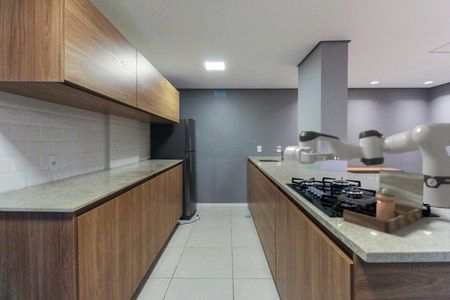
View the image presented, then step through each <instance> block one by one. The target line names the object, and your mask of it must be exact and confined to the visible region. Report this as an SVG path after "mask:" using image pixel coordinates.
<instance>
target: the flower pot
mask: <svg viewBox="0 0 450 300" xmlns="http://www.w3.org/2000/svg"><path fill="white" fill-rule="evenodd" d="M381 192H382V193H379V192H377V193H375V197H376V199H377V203H376V208H375V209H376V211H375V213H376V215H375V218H378V219H382V220H386V221H387V220H390V219H392V218H395V213H394V210H395V201H396V195H393V194H390V190H389V189H387V188H384V189H382V191H381Z"/></svg>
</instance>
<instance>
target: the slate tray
mask: <svg viewBox="0 0 450 300" xmlns="http://www.w3.org/2000/svg"><path fill="white" fill-rule="evenodd" d="M348 195H349V194H348V193H343V194H340V195H337V201H338V200H341V199H345V200H352V201H355V202H356V203H358V204H359V205H361V206H360V207H363V206H364V207H367V206H366V204H371V203H374V202H377V199H376V196H373V195H372V196H371V195H367V194H362V197H363V198H361V199H353V198H348V197H347V196H348ZM374 204H375V203H374ZM371 205H372V204H371Z"/></svg>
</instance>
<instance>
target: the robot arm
mask: <svg viewBox="0 0 450 300" xmlns="http://www.w3.org/2000/svg"><path fill="white" fill-rule="evenodd" d="M383 136H384V133H380V132H379V131H378V130H376V129H364V130H363V131H361V132H360V133H359V134H358V140H359V144H358V143H354V142H347V141H346V142H344V141H342V140H341V139H340V137H338V136H336V135H330V134H328V133H321V132H319V131H318V132H317V131H314V130H312V129H311V130H310V129H306V130H302V131H301V133H299V135H298V142H299V145H289V146H286V147H285V148H284V151H283V152H284V153H283V154H284V158H285V159H286V160H287V161H290V162H294V163H299V164H304V165H313V164H315V163H316V162H325V161H341V162H342V161H344V162H345V161H347V162H348V161H352V160H356V159H360V160H359V162H360V163H362V164H363V165H364V166H366V167H369V168H370V167H371V168H377V167H380V166H381V165H383V164H384V162H385V157H384V153H385V154H387V155H398V154H399V155H401V154H405V153H412V152H415V151H420V154H421V160H422V161H421V164H422V169H421V171H422V173H421V174H424V187H423V203H424V204H429V205H430V207H435V208H448V209H450V155H449V152H448V150H447V147H449V146H450V122H426V123H422V124H418V125H415V127H414V128H413V129H409V130H406V131H402V132H399V133H395V134H392V135H390V136H388V137H387V136H386V137H383ZM319 141H322V142H325V143H326V146H327V149H328V151H318V142H319ZM424 204H423V205H424ZM429 205H428V206H429Z"/></svg>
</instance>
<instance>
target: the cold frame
mask: <svg viewBox="0 0 450 300" xmlns="http://www.w3.org/2000/svg"><path fill="white" fill-rule="evenodd" d="M378 179H379V182H378V183H379V184H378V193H382V192H381V191H382V189H384V188H387V189H389V190H390V194H393V195H396V201H395V210H394V212H395V213H394V214H397V213H398V215H397V216H394V218H392V219H390V220H387V221H386V220H382V219H378V218H376V217H374V216H370V215H366V214H363V213H362V214H361V213H359V212H358V213H357V212H355V211H351V210H346V209H344V210H343V212H342V213H343V216H342V217H343V219H342V220H343V221H344V222H347V223H351V224H354V225H357V226H360V227H363V228H368V229H371V230H374V231H377V232H381V233H384V234H388V235H390V234H391V233H394V232H395V231H398V230H400V229H401V228H403V227H406V226H408V225H410V224H412V223H415V222H416V221H419V220H422V218H423V217H422V216H423V208H424V207H423V205H424V204H423V187H424V174H422V173H420V172H413V171H412V172H410V171H401V170H400V171H399V170H391V169H381V168H380V169H379V178H378Z"/></svg>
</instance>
